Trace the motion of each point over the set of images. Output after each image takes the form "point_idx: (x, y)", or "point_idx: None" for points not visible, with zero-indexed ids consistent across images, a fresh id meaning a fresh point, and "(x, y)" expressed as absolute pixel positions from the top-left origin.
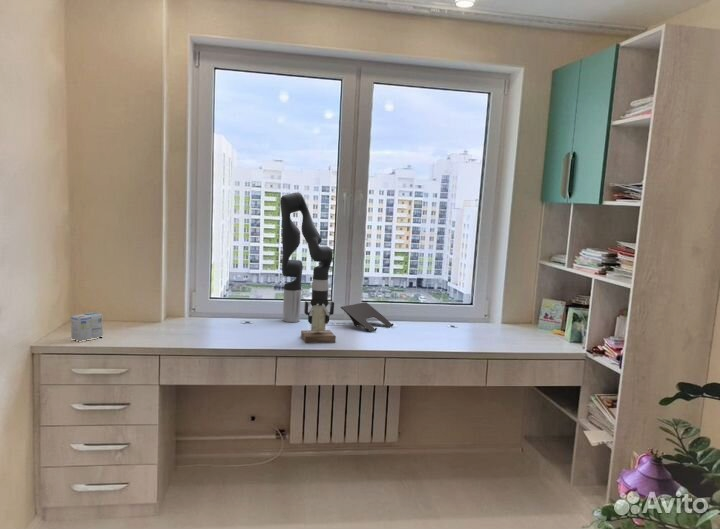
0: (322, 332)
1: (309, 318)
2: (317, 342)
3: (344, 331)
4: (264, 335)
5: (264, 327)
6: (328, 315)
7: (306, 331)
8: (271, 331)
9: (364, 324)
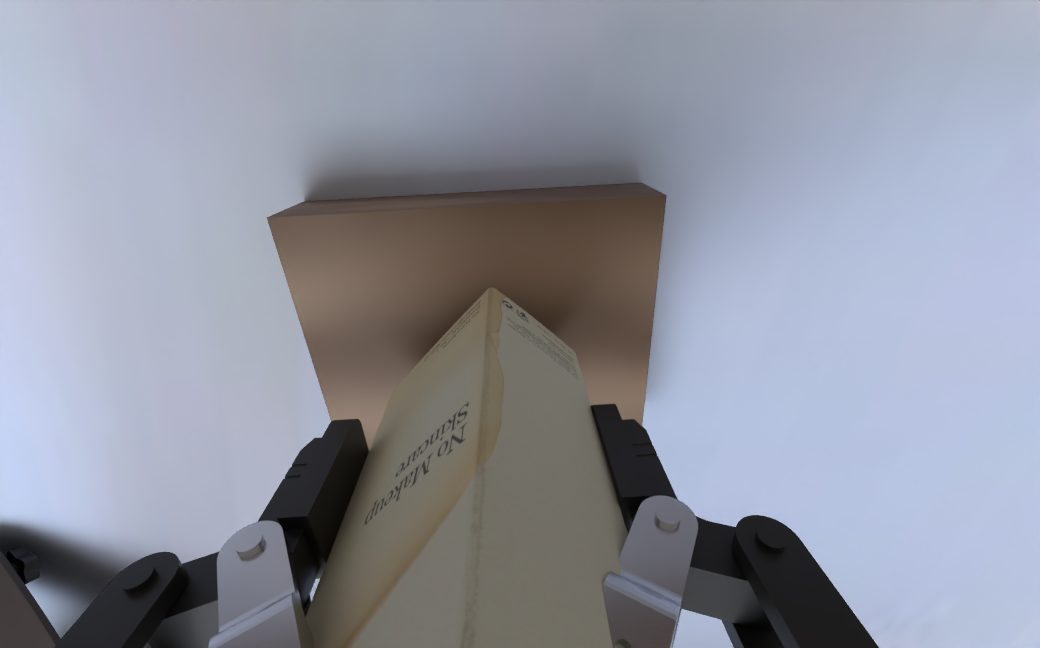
0: None
1: (650, 468)
2: (509, 191)
3: None
4: (902, 447)
5: None
6: (260, 528)
7: None
8: None
9: (17, 620)
